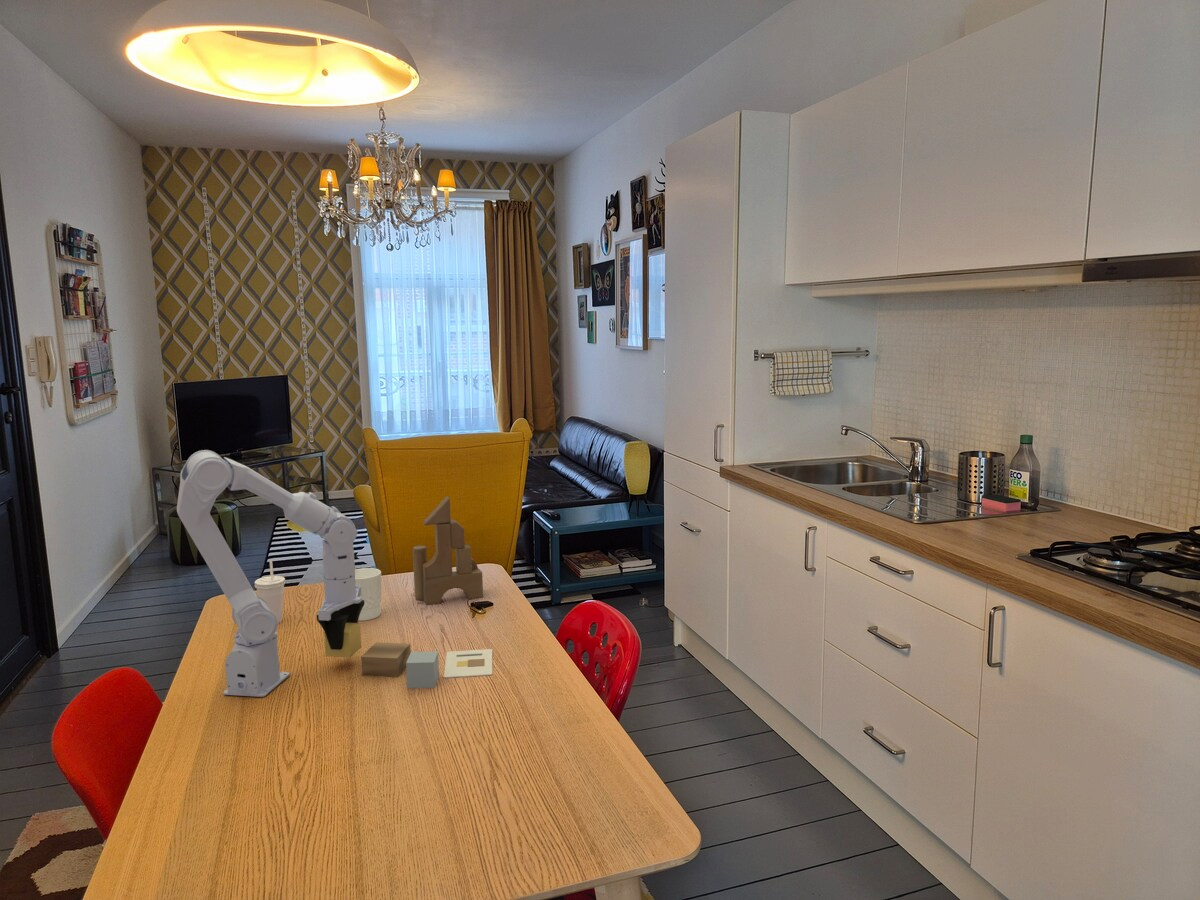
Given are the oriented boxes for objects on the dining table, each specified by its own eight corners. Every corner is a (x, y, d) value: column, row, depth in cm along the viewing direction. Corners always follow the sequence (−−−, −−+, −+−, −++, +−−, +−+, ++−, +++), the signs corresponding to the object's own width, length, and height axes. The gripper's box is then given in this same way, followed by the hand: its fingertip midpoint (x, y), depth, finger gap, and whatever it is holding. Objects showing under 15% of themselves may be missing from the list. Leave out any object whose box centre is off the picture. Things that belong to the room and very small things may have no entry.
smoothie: (281, 627, 180) (276, 565, 178) (252, 627, 180) (247, 565, 178) (292, 616, 186) (288, 556, 184) (264, 616, 186) (260, 557, 184)
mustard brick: (350, 657, 157) (349, 632, 156) (325, 656, 157) (324, 631, 157) (361, 647, 162) (360, 623, 161) (337, 646, 162) (335, 622, 162)
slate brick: (435, 688, 149) (433, 662, 149) (407, 689, 149) (406, 662, 148) (439, 676, 154) (438, 651, 154) (412, 677, 154) (411, 651, 153)
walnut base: (397, 678, 154) (396, 658, 153) (362, 676, 155) (361, 656, 154) (411, 663, 161) (410, 643, 160) (377, 661, 162) (375, 642, 161)
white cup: (340, 620, 184) (337, 577, 182) (360, 608, 191) (357, 566, 190) (371, 623, 181) (368, 579, 180) (389, 611, 189) (387, 569, 187)
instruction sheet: (492, 675, 154) (492, 673, 154) (443, 678, 153) (443, 676, 153) (492, 649, 166) (492, 648, 166) (447, 652, 165) (447, 651, 165)
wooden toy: (476, 589, 204) (473, 490, 200) (483, 597, 198) (479, 495, 194) (413, 597, 198) (409, 496, 194) (418, 606, 192) (413, 501, 188)
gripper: (342, 588, 150) (346, 659, 152) (374, 565, 164) (377, 630, 166) (306, 586, 150) (310, 657, 152) (340, 564, 165) (344, 628, 167)
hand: (342, 643), depth 159 cm, fingers closed on mustard brick, 5 cm apart
